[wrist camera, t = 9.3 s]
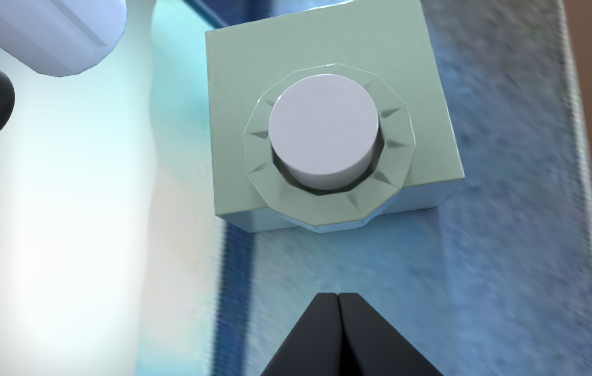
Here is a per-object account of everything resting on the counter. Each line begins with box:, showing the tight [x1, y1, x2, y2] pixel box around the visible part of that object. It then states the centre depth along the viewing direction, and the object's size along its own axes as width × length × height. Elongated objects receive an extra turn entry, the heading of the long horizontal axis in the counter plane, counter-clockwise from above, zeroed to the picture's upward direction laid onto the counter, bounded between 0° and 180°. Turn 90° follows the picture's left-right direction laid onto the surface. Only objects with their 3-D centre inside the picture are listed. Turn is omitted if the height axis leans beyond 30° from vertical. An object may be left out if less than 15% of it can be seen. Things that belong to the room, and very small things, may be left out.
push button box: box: [205, 0, 465, 233], centre depth 19 cm, size 11×11×8 cm
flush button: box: [269, 74, 379, 190], centre depth 14 cm, size 4×4×2 cm
